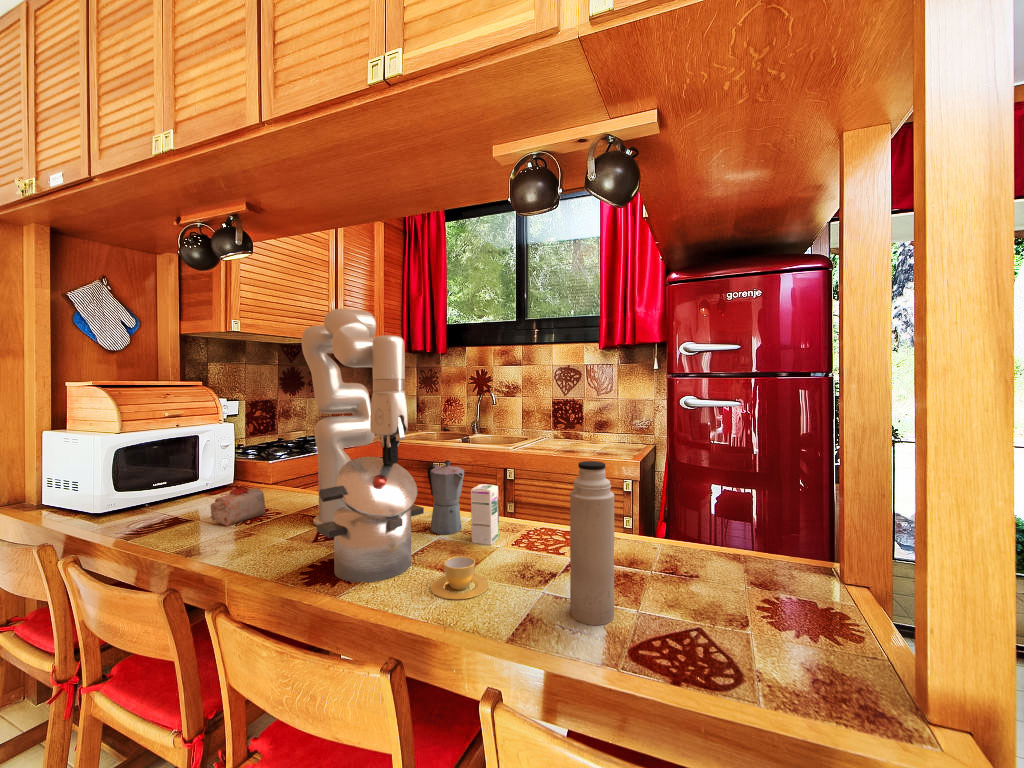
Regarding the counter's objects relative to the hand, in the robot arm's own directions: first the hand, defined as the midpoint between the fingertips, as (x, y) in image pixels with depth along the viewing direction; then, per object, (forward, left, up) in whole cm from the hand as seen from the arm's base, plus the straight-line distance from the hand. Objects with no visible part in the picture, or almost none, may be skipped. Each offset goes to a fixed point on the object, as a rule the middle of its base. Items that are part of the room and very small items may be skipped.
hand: (390, 463), depth 111 cm
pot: (+1, -5, -23) cm, 24 cm away
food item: (-60, -16, -23) cm, 66 cm away
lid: (+3, -7, -5) cm, 9 cm away
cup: (+24, +2, -23) cm, 33 cm away
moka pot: (-7, +22, -23) cm, 32 cm away
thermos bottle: (+50, +12, -23) cm, 56 cm away
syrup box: (+8, +24, -23) cm, 34 cm away
